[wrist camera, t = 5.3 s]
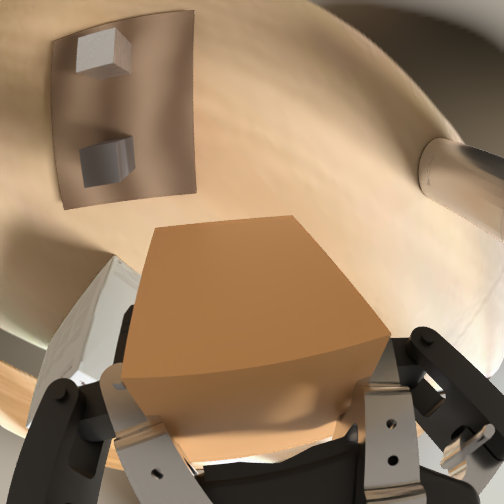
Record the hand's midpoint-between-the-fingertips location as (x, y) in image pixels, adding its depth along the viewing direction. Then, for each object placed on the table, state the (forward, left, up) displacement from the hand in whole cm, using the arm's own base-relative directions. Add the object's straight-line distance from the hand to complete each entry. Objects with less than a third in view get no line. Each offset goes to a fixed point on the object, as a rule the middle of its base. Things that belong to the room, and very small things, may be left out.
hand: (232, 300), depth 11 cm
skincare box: (+17, +15, -18) cm, 29 cm away
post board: (+8, -9, -18) cm, 21 cm away
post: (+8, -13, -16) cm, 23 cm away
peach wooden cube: (0, 0, -2) cm, 2 cm away
